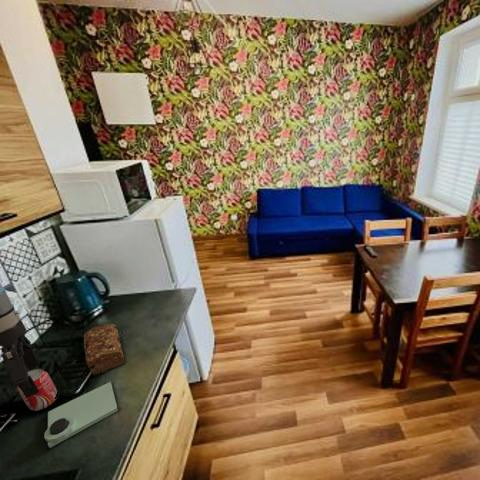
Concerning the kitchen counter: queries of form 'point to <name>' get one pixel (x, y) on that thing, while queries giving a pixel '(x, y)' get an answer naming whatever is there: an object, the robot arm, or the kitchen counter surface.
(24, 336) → the robot arm
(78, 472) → the kitchen counter surface
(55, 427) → the button
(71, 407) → the scale
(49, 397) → the soda can
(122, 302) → the kitchen counter surface
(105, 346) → the bread
